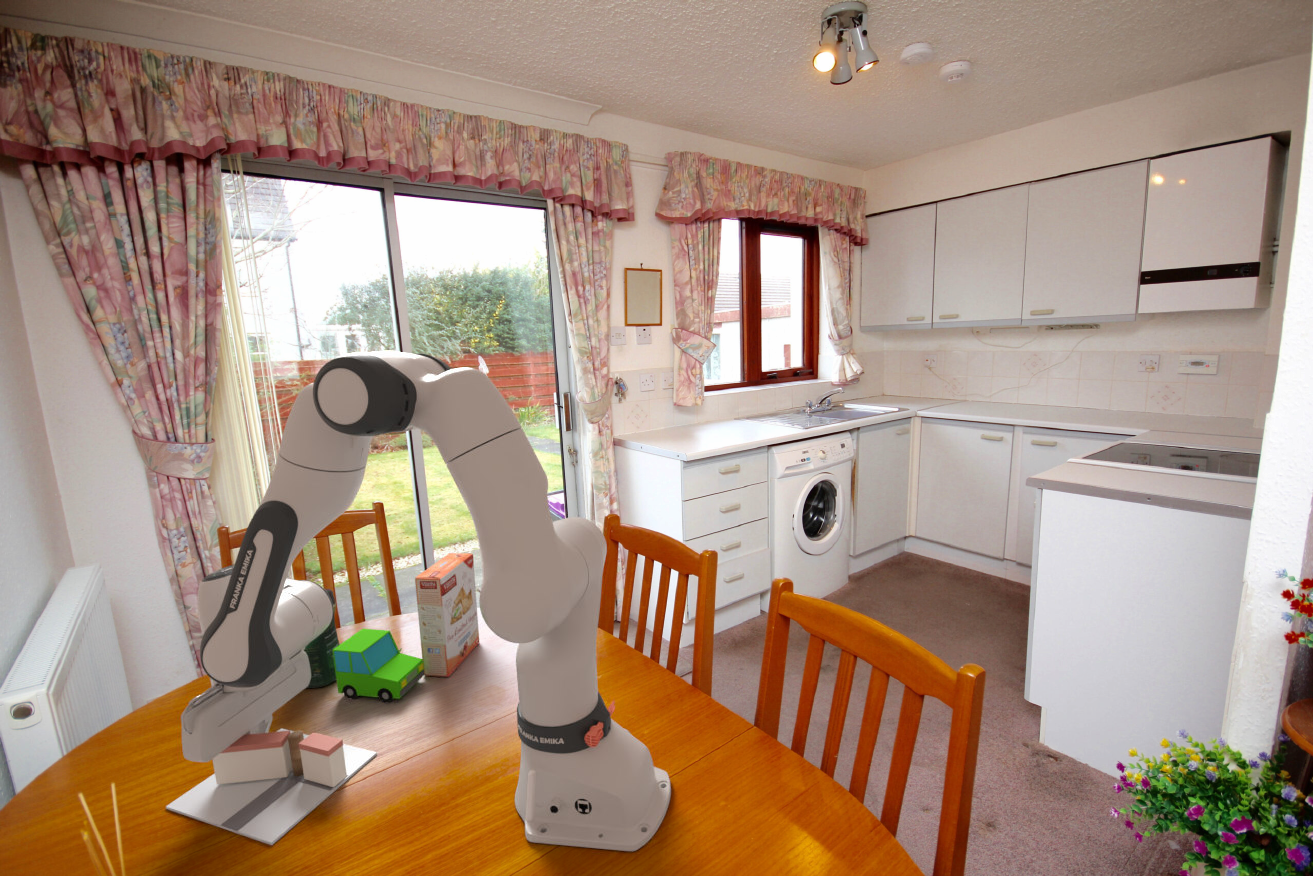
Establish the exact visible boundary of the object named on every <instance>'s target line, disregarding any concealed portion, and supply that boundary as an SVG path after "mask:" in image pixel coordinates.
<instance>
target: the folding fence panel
mask: <svg viewBox="0 0 1313 876" xmlns="http://www.w3.org/2000/svg"><path fill="white" fill-rule="evenodd" d="M290 731H291V730H290ZM290 731H280V732H277V731H271V732H270V731H269V732H268V733H259V734H249V735H243V736H242V737H241V738H239V739H238V740H237V741H235V742H234V743H233V744H231V745H230V746H229V747H227V748H226V749H225V750H223V751H222V752H221V753H220V754H218V755H217V756H216V757H214V758H213V759H212V760H211V761H212V764H213V771H214V773H215V777H216V783H217V784H226V783H236V782H245V781H255V780H264V779H274V778H284V777H288V775H289V774H290V772H291V771H292V762H291V756H290V749H289V743H288V735H289V734H291V733H290Z"/></svg>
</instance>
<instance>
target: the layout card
mask: <svg viewBox="0 0 1313 876" xmlns="http://www.w3.org/2000/svg"><path fill="white" fill-rule="evenodd" d="M280 731H290V733H292V732H295V730H290V729H286V728H284V727H283V728H282V727H281V728H280V729H278V730H276V732H280ZM309 735H310V734H305V733H303V736H304V739H305V738H307V737H308V736H309ZM343 751H344V758H345V766H346V773H347V776H346V777H345V778H344V779H343V780H342V781H340V782H339V783H338V784H337V785H336V786H335V787H330V786H327V785H324V784H320V783H317V782H313V781H310V780H306V779H304V774H303V775H301V776H294V775H293V769H292V771H291V772H290V774H289V775H288V777H284V778H274V779H264V780H255V781H245V782H236V783H226V784H217V783H216V777H215V772H214V773H213V774H212V775H210V776H208V777H207V778H205V780H203V781H201V782H200V783H198V784H196V785H195V786H193V787H192V788H191V789H190V790H188V791H186V792H184V793H183V794H182V795H180V796H179V797H178V798H176V799H175V800H173V801H171V802H170V803H169V804H167V805H166V806H165V809H166V810H168V811H171V812H173V813H177V814H179V815H184V816H186V817H189V818H191V819H194V820H197V821H201V822H204V823H206V824H209V825H212V826H215V827H218V828H221V829H224V830H227V831H228V832H229V831H230V832H232V833H235V834H237V835H240V836H244V837H247V838H249V839H252V840H255V841H259V842H261V843H263V844H267V845H269V846H273V845H274V844H275V843H276V842H278V841H279V840H281V838H282V837H284V836H285V835H286V834H287V833H288V832H289V831H290V830H292V829H293V828H294V827H295V826H296V825H297V824H298V823H299V822H301V821H302V820H303V819H304V818H305V817H306V816H308V815H309V814H310V813H311V812H312V811H313V810H315V809H316V808H317V807H318V806H319V805H320V804H322V803H323V802H324V801H325V800H327V798H328V797H330V796H331V795H332V794H333V793H334V792H336V791H337V790H338V789H339V788H340V787H341V786H342V785H344V784H345V783H347V781H348V780H349V779H351V778H352V777H353V776H354V775H355V774H356V773H358V772H359V771H360V770H361V769H362V768H363V767H364V766H366V764H369V762H370V761H372V760H373V759H374V758H375V757H376V756H377V755H378V752H376V751H374V750H369V749H364V748H362V747H356V746H354V745H349V744H345V743H343Z"/></svg>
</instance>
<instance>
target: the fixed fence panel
mask: <svg viewBox="0 0 1313 876" xmlns="http://www.w3.org/2000/svg"><path fill="white" fill-rule="evenodd" d="M308 735H309V736H308V737H307V738H305V739H304V740H302V741H301V742H300V743H298V744H299V749H300V753H301V759H302V766H303V773H304V779H306V780H310V781H313V782H317V783H320V784H324V785H327V786H330V787H335V786H336V785H337V784H338V783H339V782H340V781H342V780H343V779H344V778H345V777H346V776H347V773H346V766H345V758H344V751H343V744H344V740H343V739H341V738H338V737H333V736H329V735H325V734H321V733H319V732H312V733H310V734H308Z"/></svg>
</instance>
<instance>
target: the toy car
mask: <svg viewBox="0 0 1313 876" xmlns="http://www.w3.org/2000/svg"><path fill="white" fill-rule="evenodd" d="M339 644H340V645H339V646H337V647H336V648H334V649H333V658H334V665H335V672H336V680H335V681H336V686H337V693H338V694H343V696H345V698H347V699H348V700H355V699H356V698H357V697H359V696H360V697H361V696H363V697H372V698H378V699H379V700H380V701H381V702H382V703H385V704H389V703H391V702H392V701H394V700H395V699H401V698H402V697H403V696H404V695H406V693H407V692H408V691H409V690H410V689H411V688H412V687H414V686H415V685H416V684H417V683H418V682H419V681H420V680H421V679H422V678H423V677H424V676H425V675H424V665H423V659H422V658H420V657H416V656H412V655H408V654H406V653H405V654H404V653H401V651H402V647H401V648H400V649H399V648H398V646H397V644H396V641H395V639H394V637H393V635H392V632H391V631H390V630H384V629H374V628H373V629H372V628H362V629H360V630H359V631H357V632H356V633H354V634H353V635H352V636H350V637H349V638H347V639H346V640H345V641H343V642H341V643H339Z"/></svg>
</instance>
